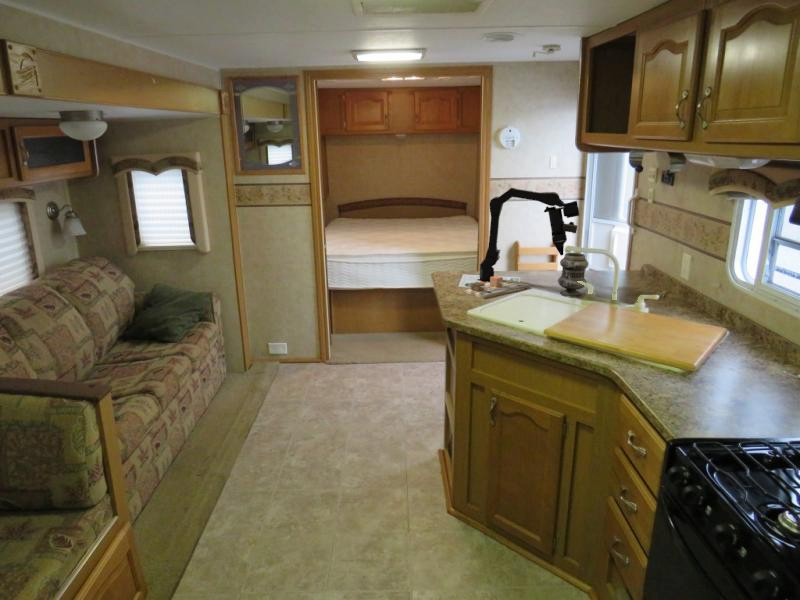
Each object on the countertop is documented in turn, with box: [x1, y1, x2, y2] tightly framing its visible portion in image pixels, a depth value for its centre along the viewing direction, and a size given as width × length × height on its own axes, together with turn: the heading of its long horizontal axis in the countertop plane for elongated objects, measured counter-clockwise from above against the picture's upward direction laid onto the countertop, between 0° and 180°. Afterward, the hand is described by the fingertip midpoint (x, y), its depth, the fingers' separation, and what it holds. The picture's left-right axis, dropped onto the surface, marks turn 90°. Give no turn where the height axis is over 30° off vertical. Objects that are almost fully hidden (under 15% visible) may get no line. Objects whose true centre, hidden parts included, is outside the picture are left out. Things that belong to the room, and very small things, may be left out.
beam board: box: [464, 280, 531, 299], centre depth 248 cm, size 12×30×2 cm, turn 127°
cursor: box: [489, 275, 509, 287], centre depth 248 cm, size 10×4×4 cm, turn 37°
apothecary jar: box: [557, 252, 589, 298], centre depth 239 cm, size 12×12×18 cm
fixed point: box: [470, 281, 490, 292], centre depth 242 cm, size 10×4×3 cm, turn 37°
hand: (561, 253), depth 252 cm, fingers open, 9 cm apart
